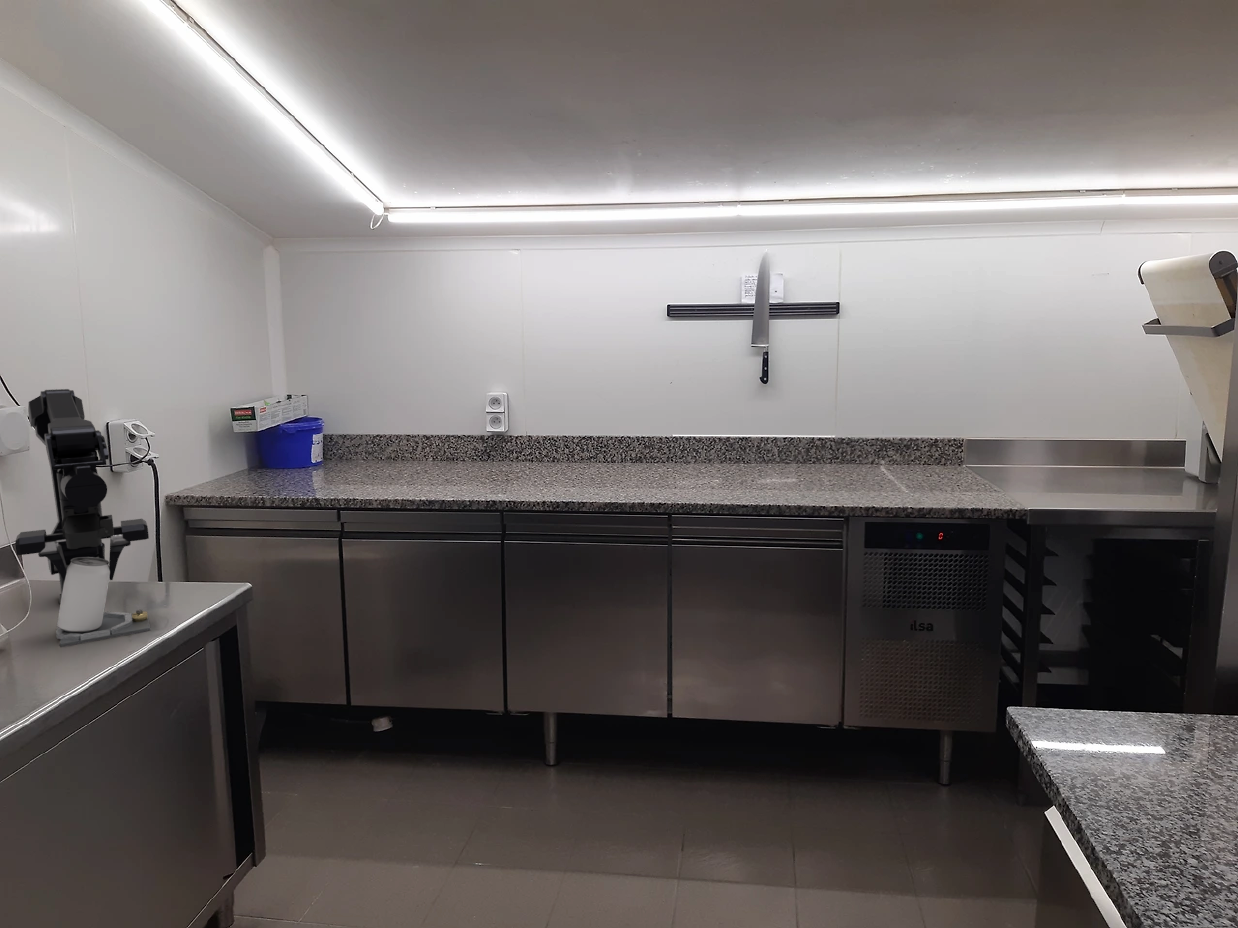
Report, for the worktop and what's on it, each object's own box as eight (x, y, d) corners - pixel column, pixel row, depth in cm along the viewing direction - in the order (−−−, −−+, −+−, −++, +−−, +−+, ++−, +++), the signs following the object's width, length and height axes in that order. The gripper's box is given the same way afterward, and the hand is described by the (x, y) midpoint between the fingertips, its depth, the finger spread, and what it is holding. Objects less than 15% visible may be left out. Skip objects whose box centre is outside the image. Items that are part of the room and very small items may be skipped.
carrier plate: (61, 628, 134) (61, 625, 134) (146, 613, 142) (146, 610, 142) (60, 647, 126) (59, 644, 126) (150, 630, 134) (149, 627, 134)
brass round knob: (132, 618, 138) (131, 609, 137) (147, 616, 139) (146, 607, 139) (132, 622, 136) (131, 613, 135) (148, 620, 137) (147, 610, 137)
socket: (58, 624, 135) (57, 620, 135) (130, 611, 141) (130, 607, 141) (56, 644, 126) (55, 640, 126) (133, 630, 132) (132, 626, 132)
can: (75, 635, 128) (86, 567, 128) (47, 625, 130) (58, 558, 129) (110, 627, 134) (120, 563, 134) (83, 618, 136) (93, 554, 135)
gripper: (7, 513, 118) (19, 606, 120) (146, 499, 128) (154, 585, 131) (13, 500, 127) (24, 587, 129) (142, 488, 137) (150, 569, 140)
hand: (90, 582), depth 132 cm, fingers closed on can, 6 cm apart
